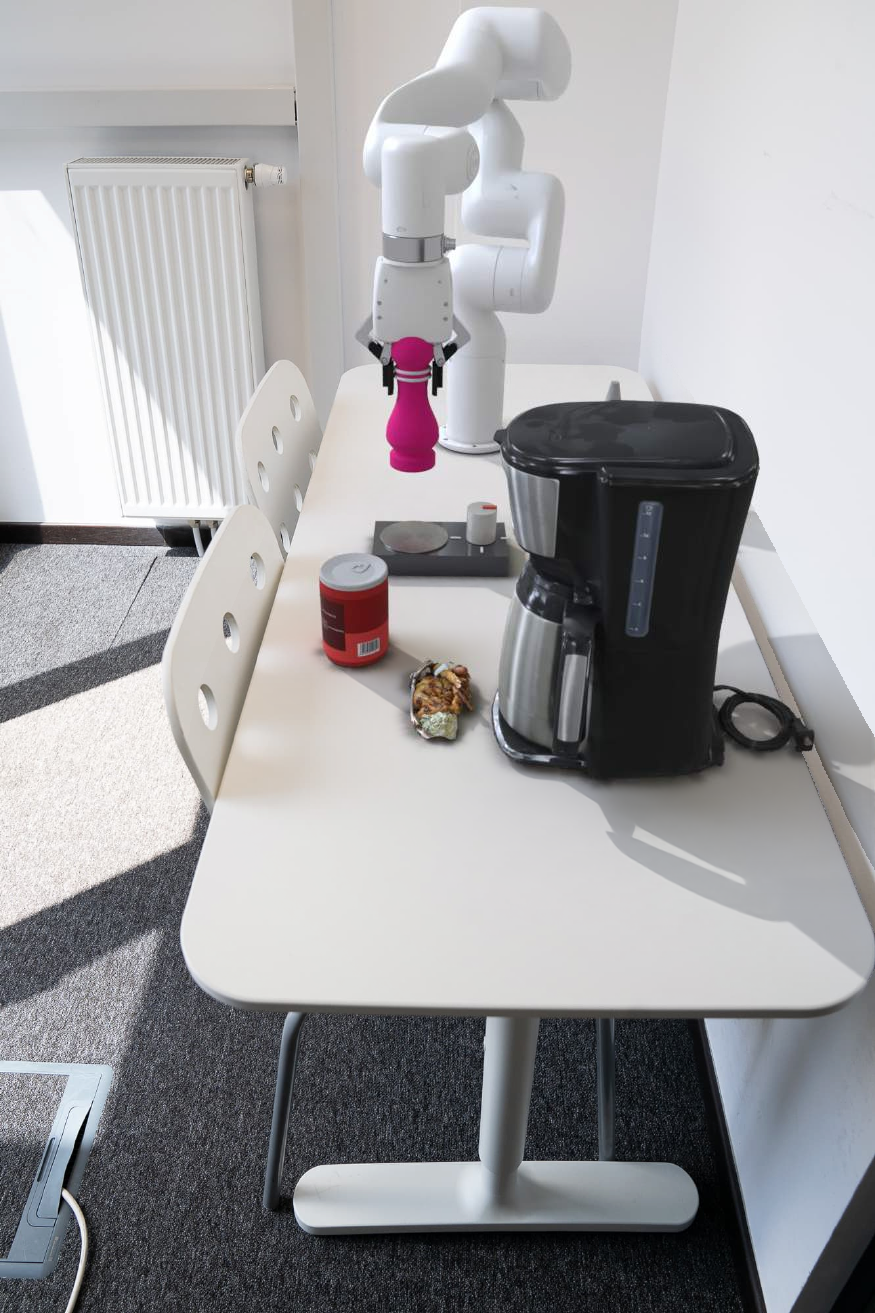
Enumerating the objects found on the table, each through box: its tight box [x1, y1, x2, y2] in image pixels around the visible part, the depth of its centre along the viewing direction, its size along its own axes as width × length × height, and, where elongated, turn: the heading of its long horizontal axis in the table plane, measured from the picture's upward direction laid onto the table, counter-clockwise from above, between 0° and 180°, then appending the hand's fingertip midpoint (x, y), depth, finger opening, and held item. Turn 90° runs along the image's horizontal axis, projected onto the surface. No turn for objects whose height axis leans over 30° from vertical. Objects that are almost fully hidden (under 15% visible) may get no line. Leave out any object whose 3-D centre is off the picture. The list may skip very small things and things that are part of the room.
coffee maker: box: [491, 399, 816, 781], centre depth 101 cm, size 23×32×34 cm
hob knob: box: [466, 501, 498, 545], centre depth 138 cm, size 4×4×5 cm
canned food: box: [318, 552, 390, 668], centre depth 118 cm, size 8×8×11 cm
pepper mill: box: [385, 337, 440, 474], centre depth 135 cm, size 7×7×20 cm
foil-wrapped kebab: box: [408, 657, 474, 740], centre depth 111 cm, size 7×12×4 cm, turn 2°
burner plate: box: [380, 520, 448, 554], centre depth 139 cm, size 9×9×1 cm
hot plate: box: [371, 520, 512, 577], centre depth 140 cm, size 19×10×3 cm, turn 90°
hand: (412, 390), depth 136 cm, fingers closed on pepper mill, 5 cm apart
